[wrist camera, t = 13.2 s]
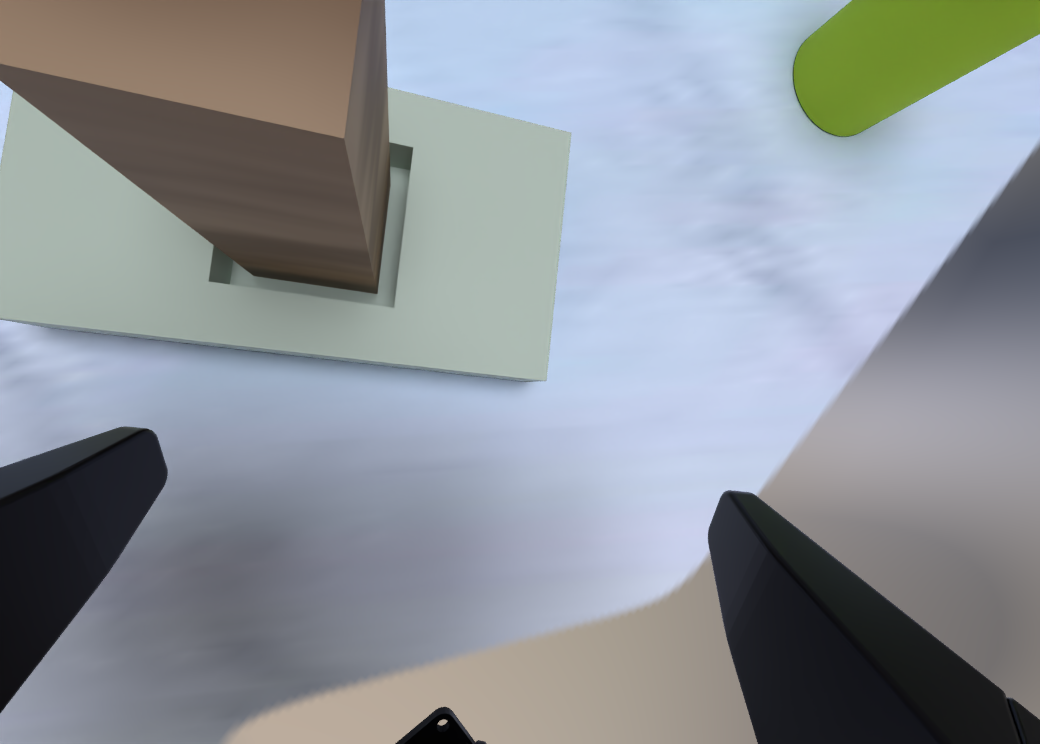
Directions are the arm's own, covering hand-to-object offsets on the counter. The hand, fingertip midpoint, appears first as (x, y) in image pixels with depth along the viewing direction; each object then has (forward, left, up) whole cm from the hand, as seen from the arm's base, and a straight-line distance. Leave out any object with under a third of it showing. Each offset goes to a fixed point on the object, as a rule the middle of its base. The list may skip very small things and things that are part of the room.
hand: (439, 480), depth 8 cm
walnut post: (+1, +8, -12) cm, 15 cm away
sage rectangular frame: (+1, +8, -13) cm, 16 cm away
